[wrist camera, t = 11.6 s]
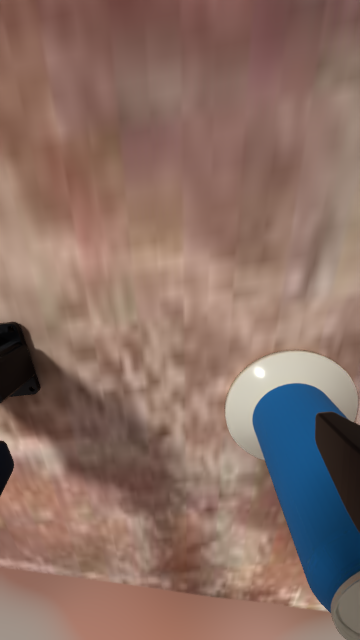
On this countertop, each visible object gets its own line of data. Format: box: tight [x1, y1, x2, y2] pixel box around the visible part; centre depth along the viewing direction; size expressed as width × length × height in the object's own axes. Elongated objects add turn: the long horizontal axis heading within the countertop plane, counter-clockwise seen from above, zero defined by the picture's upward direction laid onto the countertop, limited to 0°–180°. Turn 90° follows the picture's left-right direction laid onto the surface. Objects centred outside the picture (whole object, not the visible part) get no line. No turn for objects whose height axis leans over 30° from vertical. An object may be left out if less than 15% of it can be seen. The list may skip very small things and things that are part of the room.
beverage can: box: [252, 383, 360, 640], centre depth 15 cm, size 6×6×12 cm
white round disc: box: [225, 350, 358, 460], centre depth 21 cm, size 11×11×1 cm
